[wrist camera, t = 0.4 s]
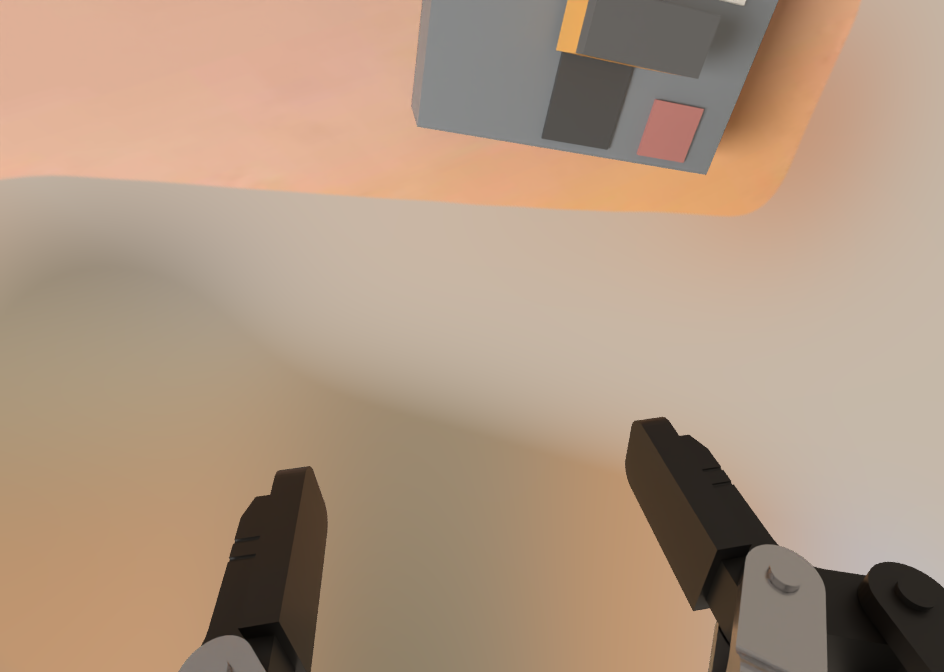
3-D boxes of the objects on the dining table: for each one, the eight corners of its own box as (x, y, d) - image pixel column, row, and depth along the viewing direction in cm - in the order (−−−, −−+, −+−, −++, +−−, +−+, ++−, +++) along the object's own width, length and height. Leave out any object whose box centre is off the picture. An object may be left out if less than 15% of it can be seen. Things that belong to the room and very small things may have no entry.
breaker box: (435, -129, 27) (452, -180, 20) (716, -50, 31) (811, -70, 24) (411, 105, 33) (417, 127, 26) (648, 147, 37) (708, 175, 30)
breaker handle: (563, -8, 24) (600, -14, 20) (665, 17, 25) (721, 16, 21) (550, 49, 25) (583, 54, 21) (648, 70, 26) (698, 78, 22)
